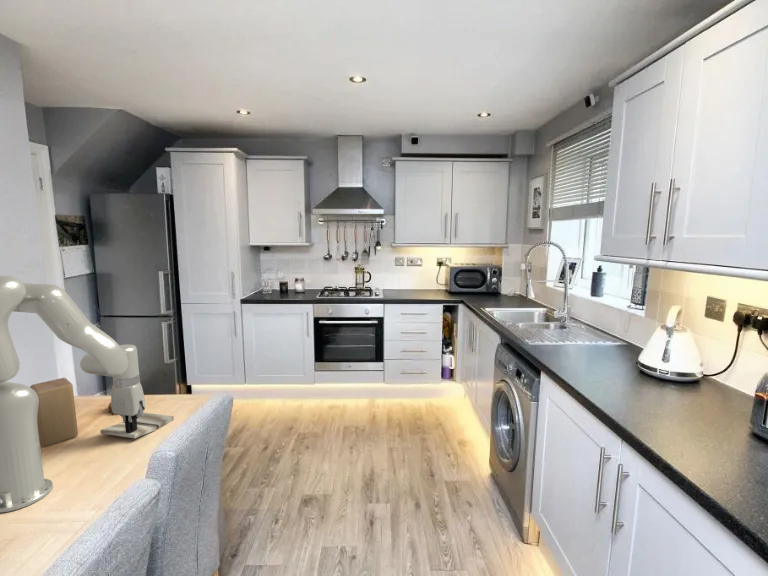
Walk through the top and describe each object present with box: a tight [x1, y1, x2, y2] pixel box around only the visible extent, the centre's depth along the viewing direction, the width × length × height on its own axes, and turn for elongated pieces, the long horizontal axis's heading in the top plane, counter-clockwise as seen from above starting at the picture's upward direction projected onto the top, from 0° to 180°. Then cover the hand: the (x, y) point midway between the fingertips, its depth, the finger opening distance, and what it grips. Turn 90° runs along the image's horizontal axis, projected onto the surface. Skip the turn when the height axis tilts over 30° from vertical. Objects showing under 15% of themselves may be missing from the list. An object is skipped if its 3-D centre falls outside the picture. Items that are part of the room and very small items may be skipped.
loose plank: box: [99, 421, 157, 439], centre depth 136 cm, size 9×15×1 cm, turn 76°
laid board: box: [137, 412, 175, 431], centre depth 145 cm, size 8×15×2 cm, turn 76°
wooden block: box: [29, 377, 79, 448], centre depth 132 cm, size 10×10×20 cm
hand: (131, 431), depth 133 cm, fingers closed
